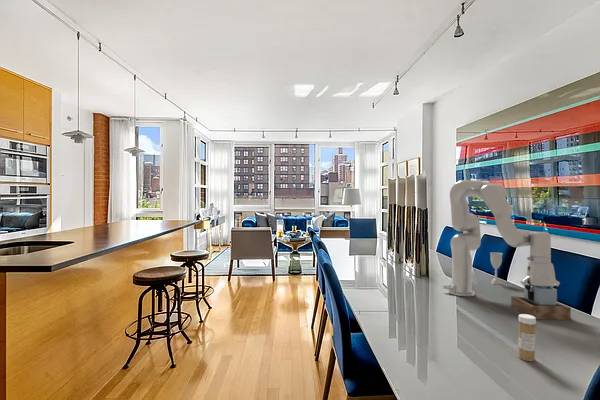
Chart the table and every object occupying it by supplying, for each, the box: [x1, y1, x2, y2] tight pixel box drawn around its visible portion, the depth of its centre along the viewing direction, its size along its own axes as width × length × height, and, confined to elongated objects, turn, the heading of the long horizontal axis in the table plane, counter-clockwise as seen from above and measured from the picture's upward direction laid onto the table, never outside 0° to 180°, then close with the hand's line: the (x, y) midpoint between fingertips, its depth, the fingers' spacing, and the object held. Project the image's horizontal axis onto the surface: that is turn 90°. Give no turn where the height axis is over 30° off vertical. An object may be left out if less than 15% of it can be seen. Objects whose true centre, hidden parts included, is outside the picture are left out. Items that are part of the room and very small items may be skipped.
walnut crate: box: [510, 295, 572, 321], centre depth 152 cm, size 16×16×5 cm
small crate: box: [524, 282, 558, 306], centre depth 152 cm, size 7×11×7 cm, turn 177°
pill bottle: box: [517, 313, 537, 362], centre depth 108 cm, size 5×5×14 cm
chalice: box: [489, 251, 504, 285], centre depth 206 cm, size 7×7×18 cm
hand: (540, 299), depth 152 cm, fingers closed on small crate, 7 cm apart
